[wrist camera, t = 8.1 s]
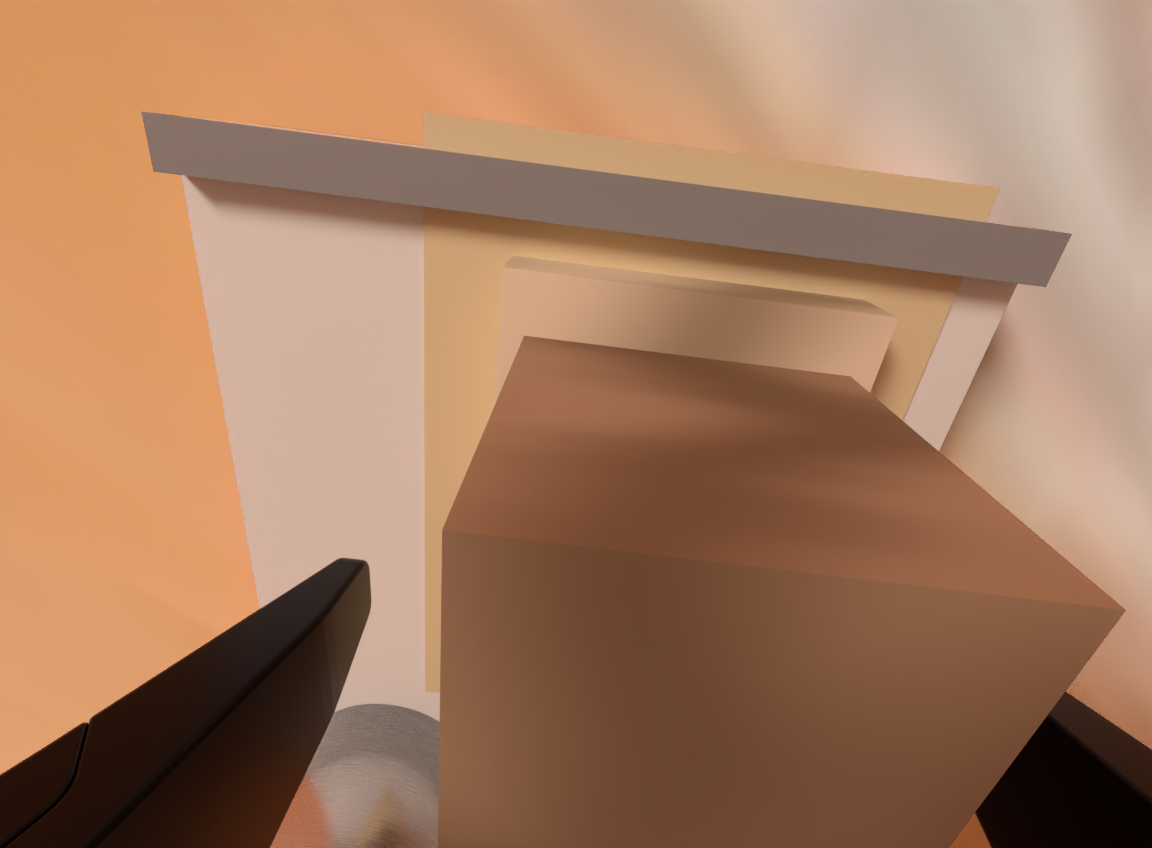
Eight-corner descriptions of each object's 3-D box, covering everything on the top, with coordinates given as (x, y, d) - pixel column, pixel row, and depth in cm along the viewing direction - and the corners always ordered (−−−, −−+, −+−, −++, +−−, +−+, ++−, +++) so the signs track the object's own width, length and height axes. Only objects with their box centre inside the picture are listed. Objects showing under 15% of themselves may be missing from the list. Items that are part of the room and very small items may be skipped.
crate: (863, 299, 9) (1265, 507, 4) (734, 667, 13) (835, 1039, 8) (513, 254, 9) (383, 401, 4) (488, 640, 13) (407, 994, 8)
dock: (962, 188, 11) (1088, 199, 8) (734, 765, 19) (758, 870, 16) (256, 95, 11) (134, 71, 8) (330, 720, 19) (283, 819, 16)
